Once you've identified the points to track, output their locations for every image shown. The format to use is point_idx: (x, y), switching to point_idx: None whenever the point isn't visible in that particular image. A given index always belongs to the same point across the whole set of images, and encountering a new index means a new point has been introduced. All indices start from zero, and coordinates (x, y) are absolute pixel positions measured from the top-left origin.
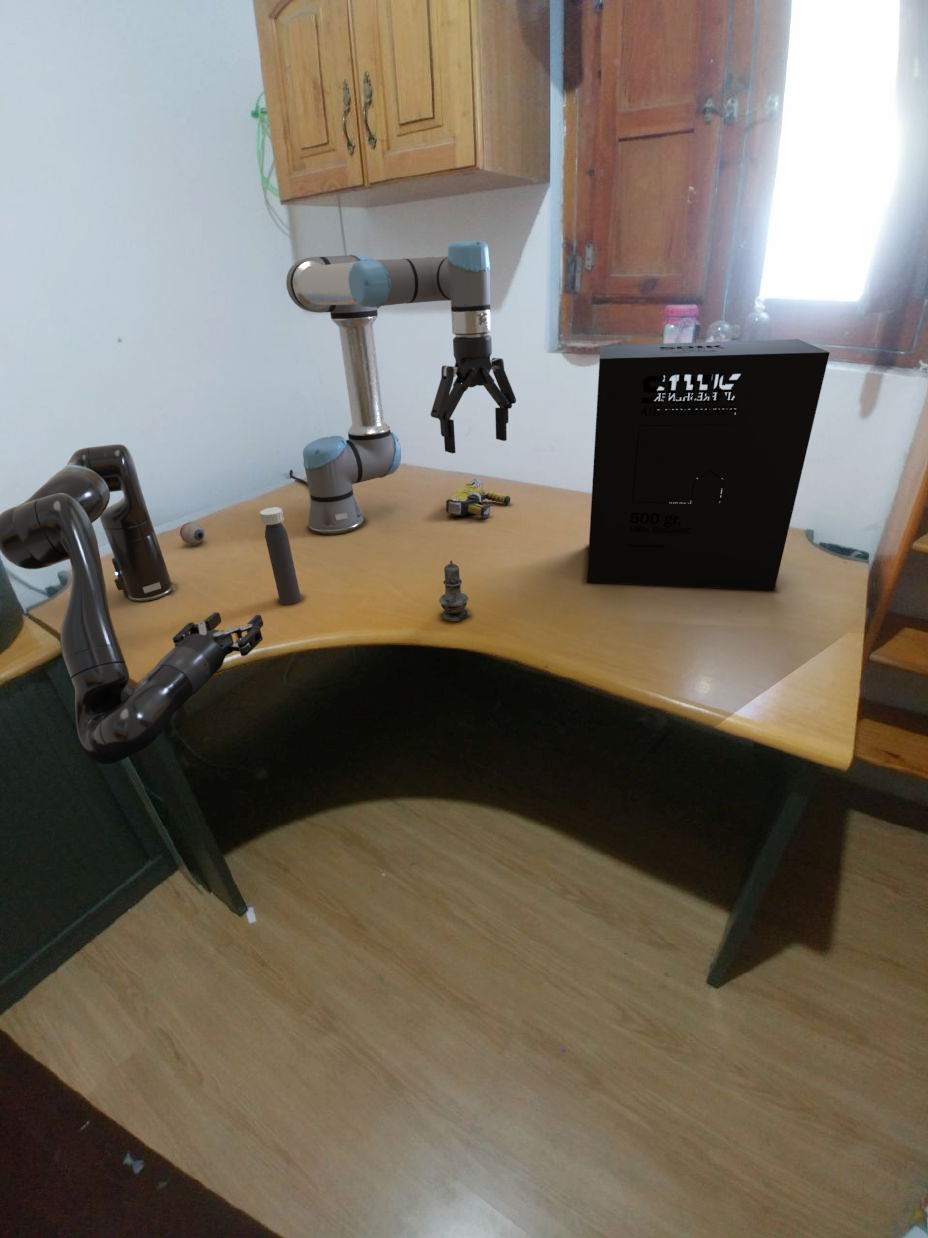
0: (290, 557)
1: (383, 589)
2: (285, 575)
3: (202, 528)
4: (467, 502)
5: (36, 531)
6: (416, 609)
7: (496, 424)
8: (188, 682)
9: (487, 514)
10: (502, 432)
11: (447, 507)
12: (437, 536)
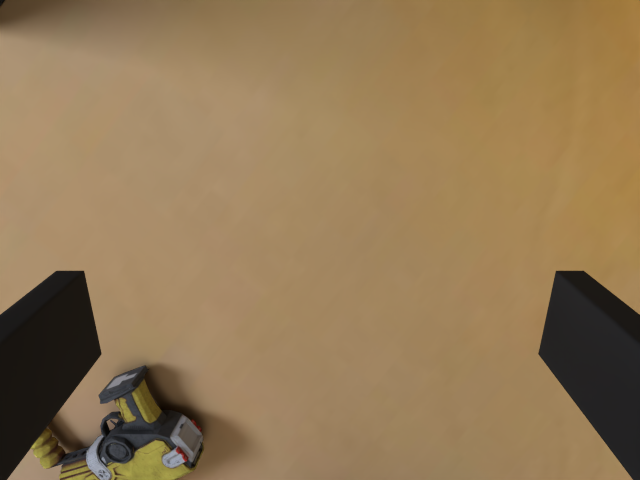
0: None
1: (577, 204)
2: None
3: None
4: (150, 433)
5: None
6: (603, 53)
7: (38, 424)
8: None
9: (122, 375)
10: (52, 317)
11: (197, 453)
12: (293, 361)
